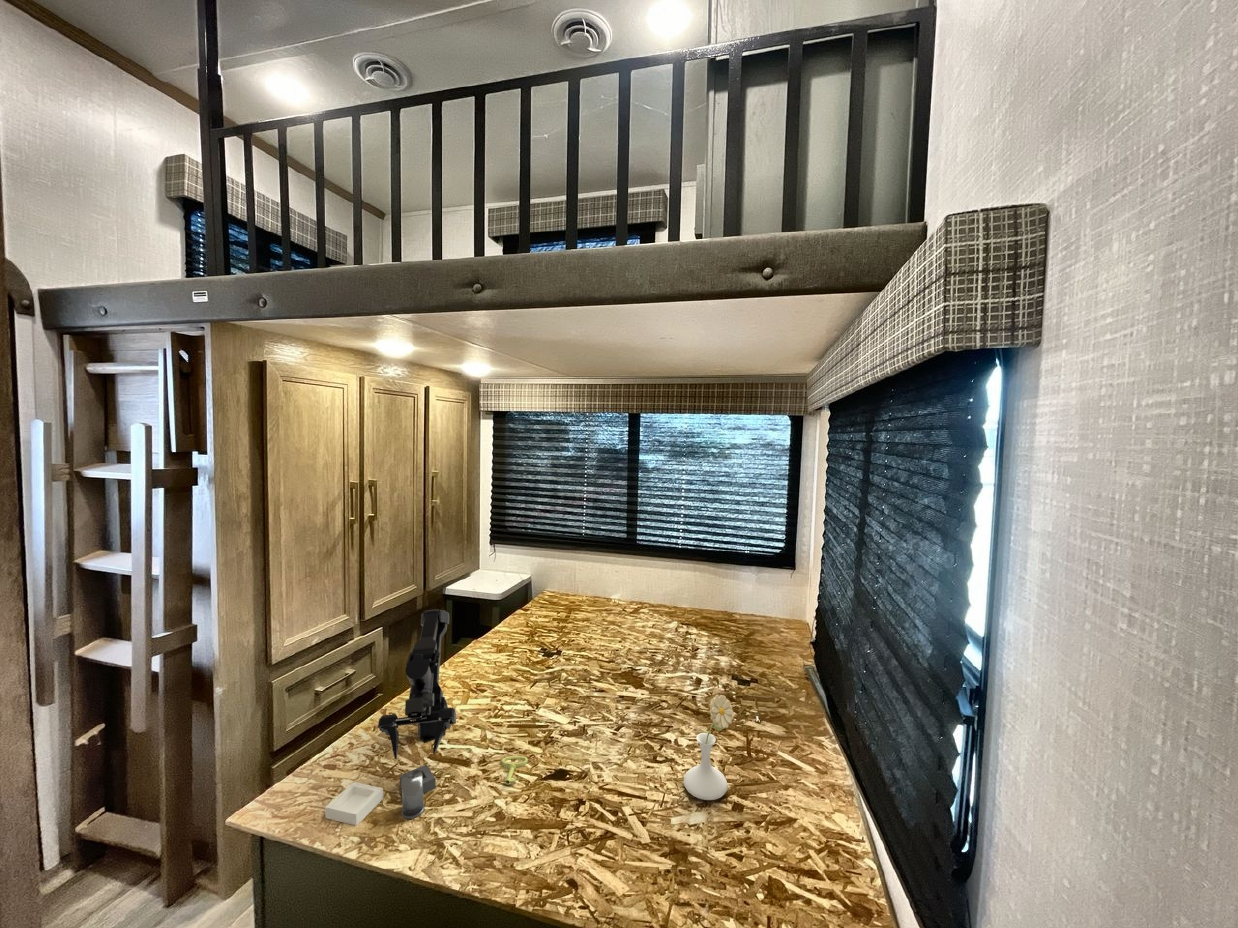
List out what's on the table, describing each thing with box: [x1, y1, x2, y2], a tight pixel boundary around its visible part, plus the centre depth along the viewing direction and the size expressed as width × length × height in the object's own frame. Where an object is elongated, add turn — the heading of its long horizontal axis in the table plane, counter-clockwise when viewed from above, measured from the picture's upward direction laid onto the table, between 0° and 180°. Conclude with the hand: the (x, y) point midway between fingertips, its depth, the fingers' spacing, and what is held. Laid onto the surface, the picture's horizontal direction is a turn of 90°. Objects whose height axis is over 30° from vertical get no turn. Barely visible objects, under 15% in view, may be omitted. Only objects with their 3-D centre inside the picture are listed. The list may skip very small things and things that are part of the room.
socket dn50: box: [324, 781, 384, 826], centre depth 125 cm, size 9×9×3 cm
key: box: [501, 755, 528, 785], centre depth 139 cm, size 7×12×2 cm, turn 19°
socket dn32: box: [399, 764, 437, 795], centre depth 132 cm, size 7×7×3 cm
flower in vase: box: [683, 694, 734, 801], centre depth 131 cm, size 13×11×25 cm
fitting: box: [401, 769, 425, 820], centre depth 124 cm, size 5×5×9 cm
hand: (415, 756), depth 128 cm, fingers open, 9 cm apart
